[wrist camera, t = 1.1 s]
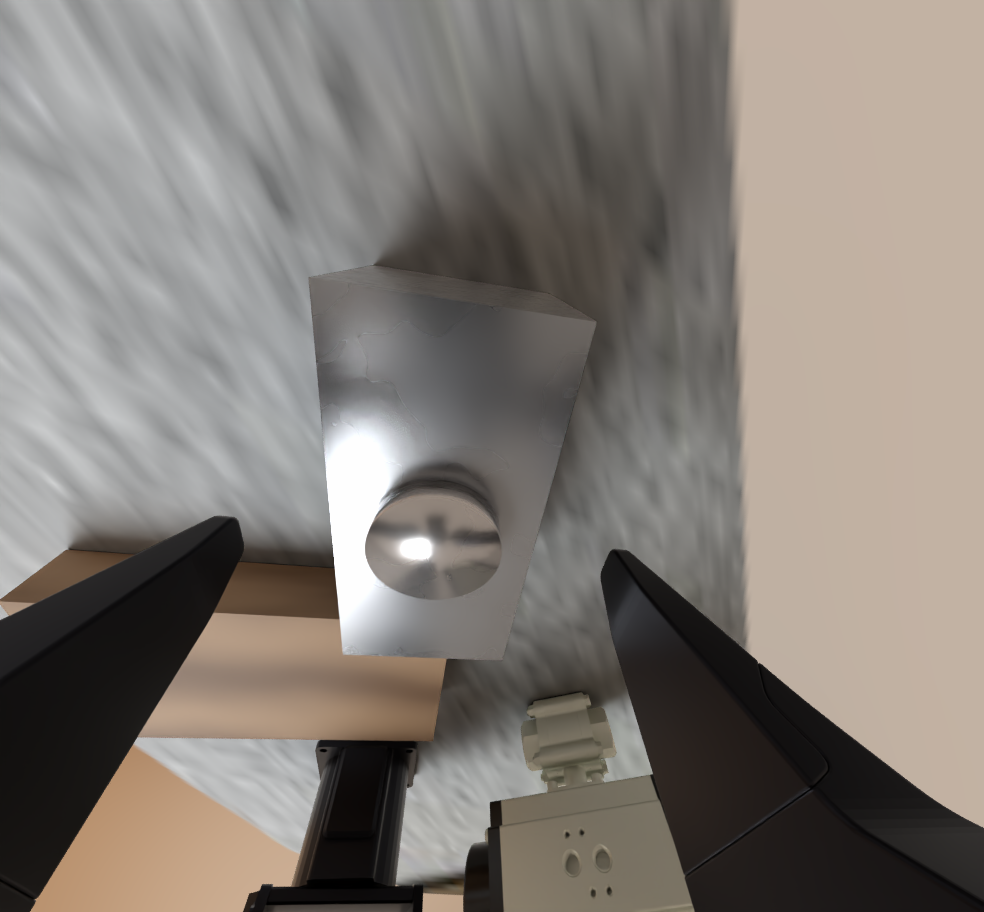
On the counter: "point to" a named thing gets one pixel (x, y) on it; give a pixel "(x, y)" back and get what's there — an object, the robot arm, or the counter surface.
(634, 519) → the counter surface
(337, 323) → the housing
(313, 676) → the walnut stand
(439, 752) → the counter surface
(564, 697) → the pneumatic valve
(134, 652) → the robot arm
